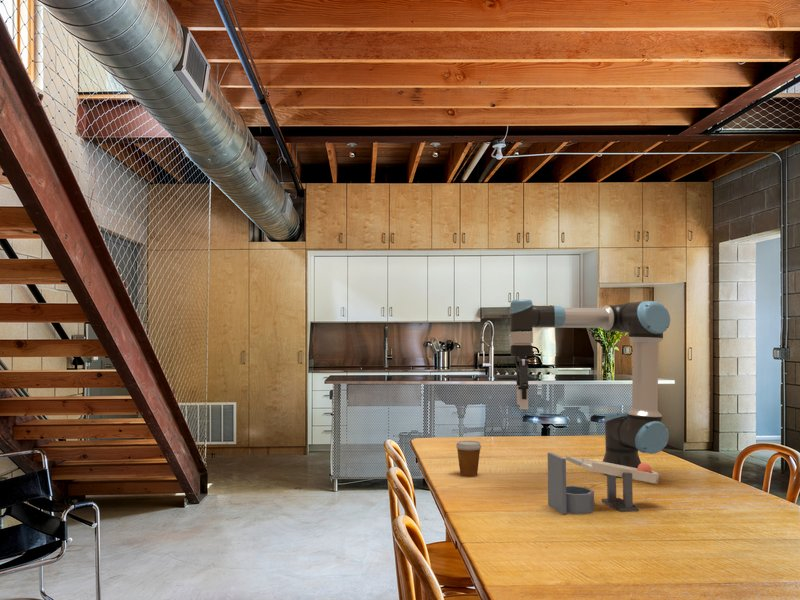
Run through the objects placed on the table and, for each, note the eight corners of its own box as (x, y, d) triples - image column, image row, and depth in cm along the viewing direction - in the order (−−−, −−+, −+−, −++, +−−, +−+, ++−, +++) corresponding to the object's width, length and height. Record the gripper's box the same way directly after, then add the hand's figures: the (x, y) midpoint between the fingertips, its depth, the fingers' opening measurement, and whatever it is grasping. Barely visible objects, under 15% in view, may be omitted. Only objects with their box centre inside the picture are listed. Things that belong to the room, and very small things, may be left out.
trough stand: (619, 501, 196) (618, 465, 197) (638, 510, 185) (638, 473, 186) (601, 501, 195) (601, 466, 196) (620, 511, 184) (619, 474, 185)
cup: (582, 503, 194) (581, 451, 195) (599, 512, 183) (598, 457, 184) (547, 504, 191) (547, 452, 192) (563, 514, 181) (562, 459, 182)
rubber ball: (644, 476, 195) (648, 463, 195) (651, 479, 191) (655, 466, 191) (633, 472, 194) (637, 459, 194) (640, 474, 190) (644, 462, 190)
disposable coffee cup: (480, 478, 226) (480, 445, 227) (454, 477, 228) (454, 444, 229) (482, 472, 236) (482, 440, 236) (457, 471, 238) (457, 440, 238)
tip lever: (625, 472, 206) (627, 461, 207) (657, 485, 189) (659, 473, 189) (565, 460, 203) (567, 449, 203) (592, 472, 185) (594, 460, 186)
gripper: (508, 343, 226) (509, 402, 225) (512, 345, 201) (513, 411, 200) (529, 343, 225) (530, 402, 224) (536, 345, 200) (537, 411, 199)
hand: (522, 406), depth 212 cm, fingers open, 13 cm apart
